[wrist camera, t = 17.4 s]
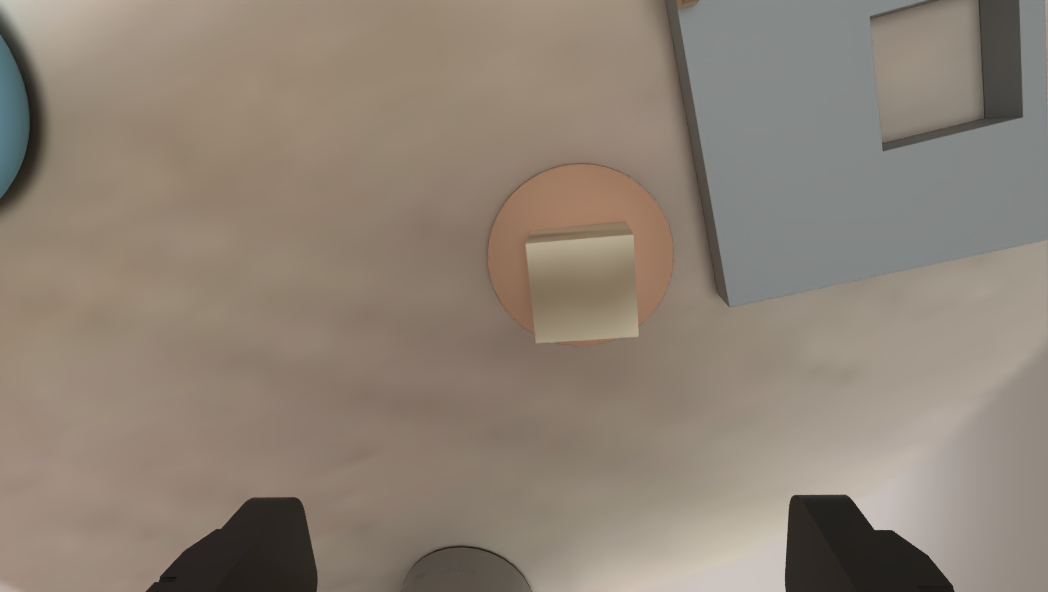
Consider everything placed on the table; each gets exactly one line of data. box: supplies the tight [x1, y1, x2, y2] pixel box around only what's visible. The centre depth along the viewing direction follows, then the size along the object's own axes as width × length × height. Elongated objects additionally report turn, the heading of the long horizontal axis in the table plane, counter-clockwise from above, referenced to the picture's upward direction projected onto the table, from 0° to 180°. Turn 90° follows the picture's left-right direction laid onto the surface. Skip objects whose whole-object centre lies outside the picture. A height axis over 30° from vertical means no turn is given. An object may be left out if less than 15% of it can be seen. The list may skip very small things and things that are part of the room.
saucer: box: [488, 163, 674, 346], centre depth 31 cm, size 10×10×1 cm
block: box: [526, 221, 639, 343], centre depth 29 cm, size 5×5×4 cm
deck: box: [666, 0, 1048, 307], centre depth 26 cm, size 25×15×2 cm, turn 15°
